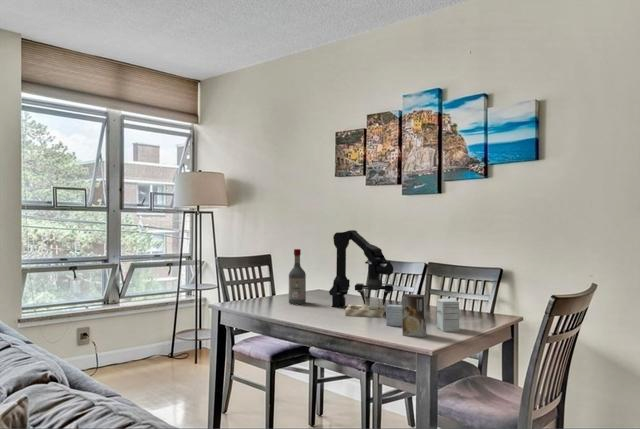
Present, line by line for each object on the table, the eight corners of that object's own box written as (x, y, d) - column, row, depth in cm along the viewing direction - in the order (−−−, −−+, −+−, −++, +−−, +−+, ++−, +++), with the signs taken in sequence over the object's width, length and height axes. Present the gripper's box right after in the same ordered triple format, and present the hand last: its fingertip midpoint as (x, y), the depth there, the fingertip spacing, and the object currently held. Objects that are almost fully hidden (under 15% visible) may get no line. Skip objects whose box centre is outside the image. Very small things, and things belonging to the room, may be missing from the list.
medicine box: (405, 324, 213) (405, 305, 213) (404, 327, 209) (404, 307, 209) (388, 323, 216) (388, 304, 216) (386, 325, 212) (386, 306, 212)
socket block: (345, 315, 233) (345, 308, 233) (348, 310, 246) (348, 304, 246) (382, 317, 230) (382, 310, 230) (384, 311, 243) (384, 305, 243)
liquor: (305, 304, 263) (305, 249, 263) (288, 304, 263) (288, 249, 263) (305, 301, 272) (305, 248, 272) (289, 301, 272) (289, 248, 272)
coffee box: (427, 334, 197) (427, 294, 197) (424, 337, 191) (424, 297, 191) (404, 332, 200) (404, 293, 200) (401, 335, 194) (401, 295, 194)
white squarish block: (369, 314, 236) (369, 298, 236) (370, 313, 240) (370, 297, 240) (377, 315, 235) (377, 298, 235) (378, 313, 239) (378, 297, 239)
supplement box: (436, 327, 208) (436, 298, 208) (453, 327, 208) (453, 298, 208) (442, 331, 200) (442, 301, 200) (459, 331, 201) (459, 301, 201)
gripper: (353, 274, 231) (353, 307, 231) (392, 275, 228) (392, 308, 228) (356, 272, 242) (356, 303, 242) (393, 273, 239) (393, 304, 238)
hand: (374, 304), depth 237 cm, fingers open, 9 cm apart
